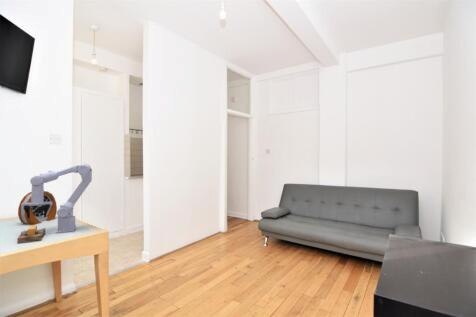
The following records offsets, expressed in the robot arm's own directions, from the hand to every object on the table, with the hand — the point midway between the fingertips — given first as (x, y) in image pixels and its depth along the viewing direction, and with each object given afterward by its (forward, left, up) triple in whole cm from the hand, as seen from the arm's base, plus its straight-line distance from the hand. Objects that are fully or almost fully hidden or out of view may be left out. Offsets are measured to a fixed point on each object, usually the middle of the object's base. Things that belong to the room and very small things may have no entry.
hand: (37, 217), depth 148 cm
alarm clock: (+3, -31, -10) cm, 33 cm away
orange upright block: (0, +11, -9) cm, 14 cm away
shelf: (0, +10, -9) cm, 14 cm away
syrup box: (-14, -14, -10) cm, 22 cm away
